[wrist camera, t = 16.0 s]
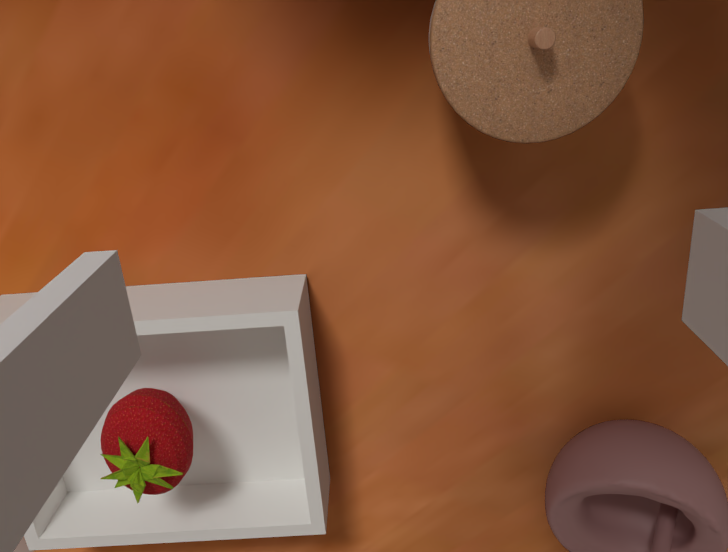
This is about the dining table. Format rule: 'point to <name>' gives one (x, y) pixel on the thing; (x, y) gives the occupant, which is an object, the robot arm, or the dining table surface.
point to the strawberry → (147, 442)
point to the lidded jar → (533, 62)
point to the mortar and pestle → (635, 492)
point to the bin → (210, 421)
